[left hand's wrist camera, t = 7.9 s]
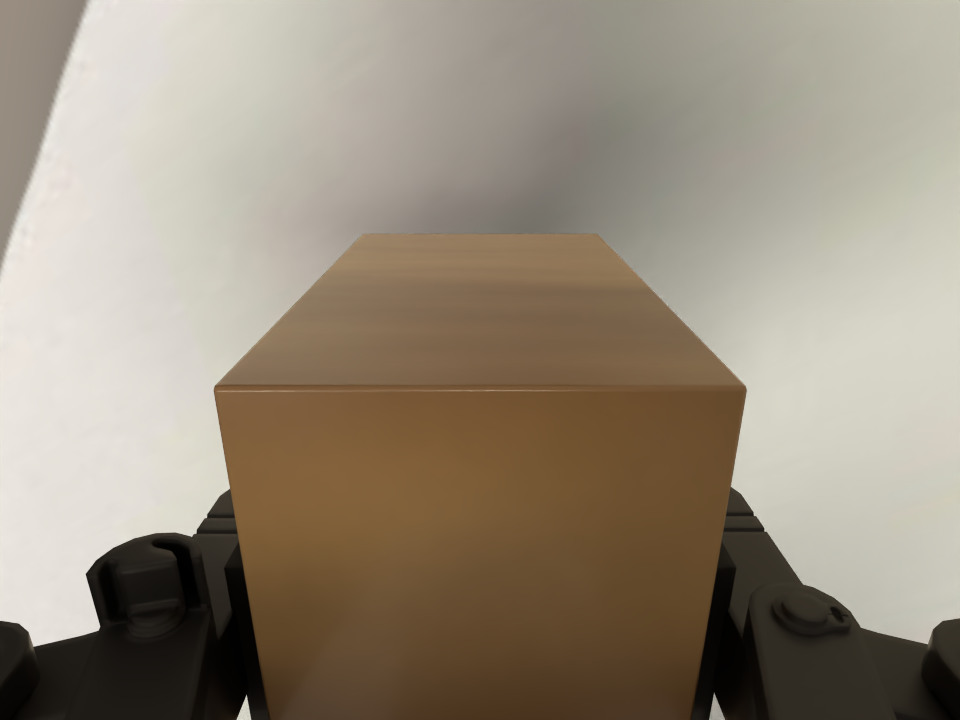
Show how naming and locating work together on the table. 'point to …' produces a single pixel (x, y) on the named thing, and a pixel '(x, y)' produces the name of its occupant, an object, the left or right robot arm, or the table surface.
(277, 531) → the bar
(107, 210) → the table surface
